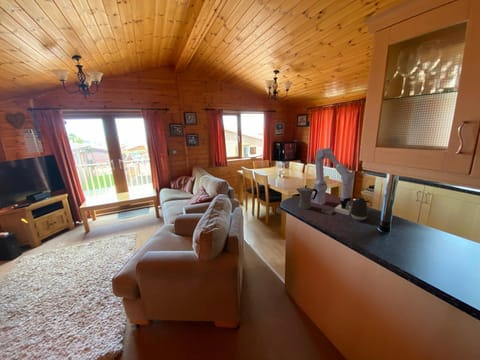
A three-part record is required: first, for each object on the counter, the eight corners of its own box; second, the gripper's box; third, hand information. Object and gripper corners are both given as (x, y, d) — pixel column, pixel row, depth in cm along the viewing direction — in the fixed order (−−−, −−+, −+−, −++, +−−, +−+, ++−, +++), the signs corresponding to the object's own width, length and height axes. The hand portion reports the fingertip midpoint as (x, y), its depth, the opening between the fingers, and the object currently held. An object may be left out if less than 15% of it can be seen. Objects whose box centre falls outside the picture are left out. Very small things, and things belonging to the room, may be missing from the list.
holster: (320, 212, 147) (320, 209, 146) (324, 209, 151) (324, 206, 150) (331, 215, 141) (331, 212, 141) (335, 212, 145) (335, 209, 144)
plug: (341, 210, 146) (342, 200, 144) (342, 208, 148) (344, 199, 146) (346, 211, 143) (347, 201, 141) (348, 210, 146) (349, 200, 144)
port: (334, 211, 146) (334, 207, 146) (339, 207, 153) (340, 203, 152) (349, 215, 139) (349, 211, 138) (354, 211, 146) (354, 207, 145)
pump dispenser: (363, 223, 128) (366, 201, 124) (346, 218, 136) (349, 197, 132) (370, 218, 134) (373, 197, 130) (354, 213, 142) (356, 193, 138)
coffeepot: (295, 209, 154) (295, 186, 150) (296, 204, 163) (297, 183, 158) (316, 211, 149) (318, 188, 144) (316, 206, 158) (318, 184, 153)
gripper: (348, 193, 134) (346, 212, 138) (356, 188, 144) (354, 205, 147) (337, 191, 139) (336, 209, 143) (345, 186, 149) (344, 203, 152)
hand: (344, 207), depth 145 cm, fingers closed on plug, 3 cm apart
